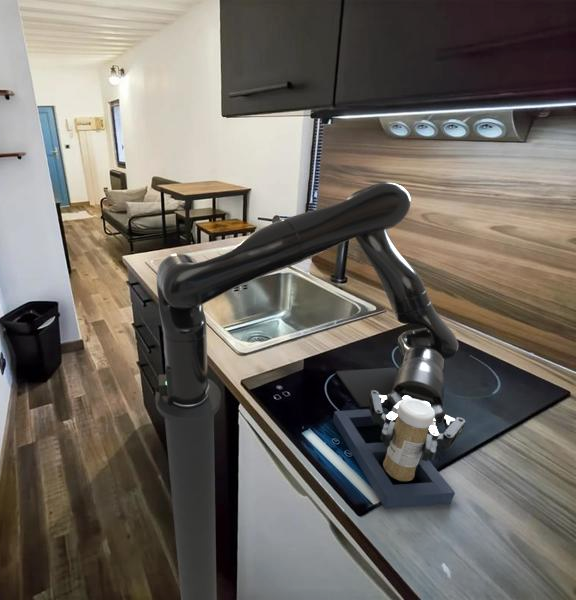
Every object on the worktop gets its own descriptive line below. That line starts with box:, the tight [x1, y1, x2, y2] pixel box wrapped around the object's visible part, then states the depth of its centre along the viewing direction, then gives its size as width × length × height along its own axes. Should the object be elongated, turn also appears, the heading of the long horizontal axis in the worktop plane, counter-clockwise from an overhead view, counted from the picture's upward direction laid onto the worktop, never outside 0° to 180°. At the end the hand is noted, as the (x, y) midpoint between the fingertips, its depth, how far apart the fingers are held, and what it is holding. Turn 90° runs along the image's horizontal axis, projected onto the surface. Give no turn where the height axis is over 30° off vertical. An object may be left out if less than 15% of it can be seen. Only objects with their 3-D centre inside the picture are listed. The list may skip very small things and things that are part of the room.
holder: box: [332, 407, 456, 509], centre depth 63 cm, size 10×18×2 cm, turn 2°
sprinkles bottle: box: [382, 398, 435, 482], centre depth 56 cm, size 5×5×13 cm
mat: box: [335, 367, 399, 409], centre depth 80 cm, size 14×12×1 cm
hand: (406, 448), depth 54 cm, fingers closed on sprinkles bottle, 4 cm apart
